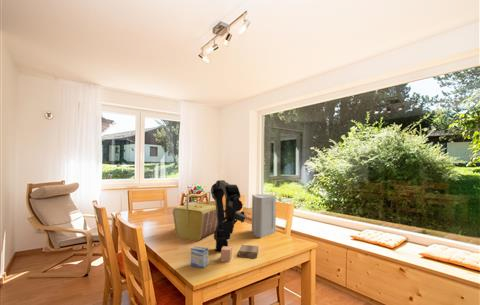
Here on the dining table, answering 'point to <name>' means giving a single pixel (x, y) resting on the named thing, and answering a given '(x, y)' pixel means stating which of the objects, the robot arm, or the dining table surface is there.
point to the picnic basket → (195, 219)
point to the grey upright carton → (263, 214)
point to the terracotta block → (226, 253)
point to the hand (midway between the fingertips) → (229, 236)
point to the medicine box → (199, 256)
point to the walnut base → (248, 251)
